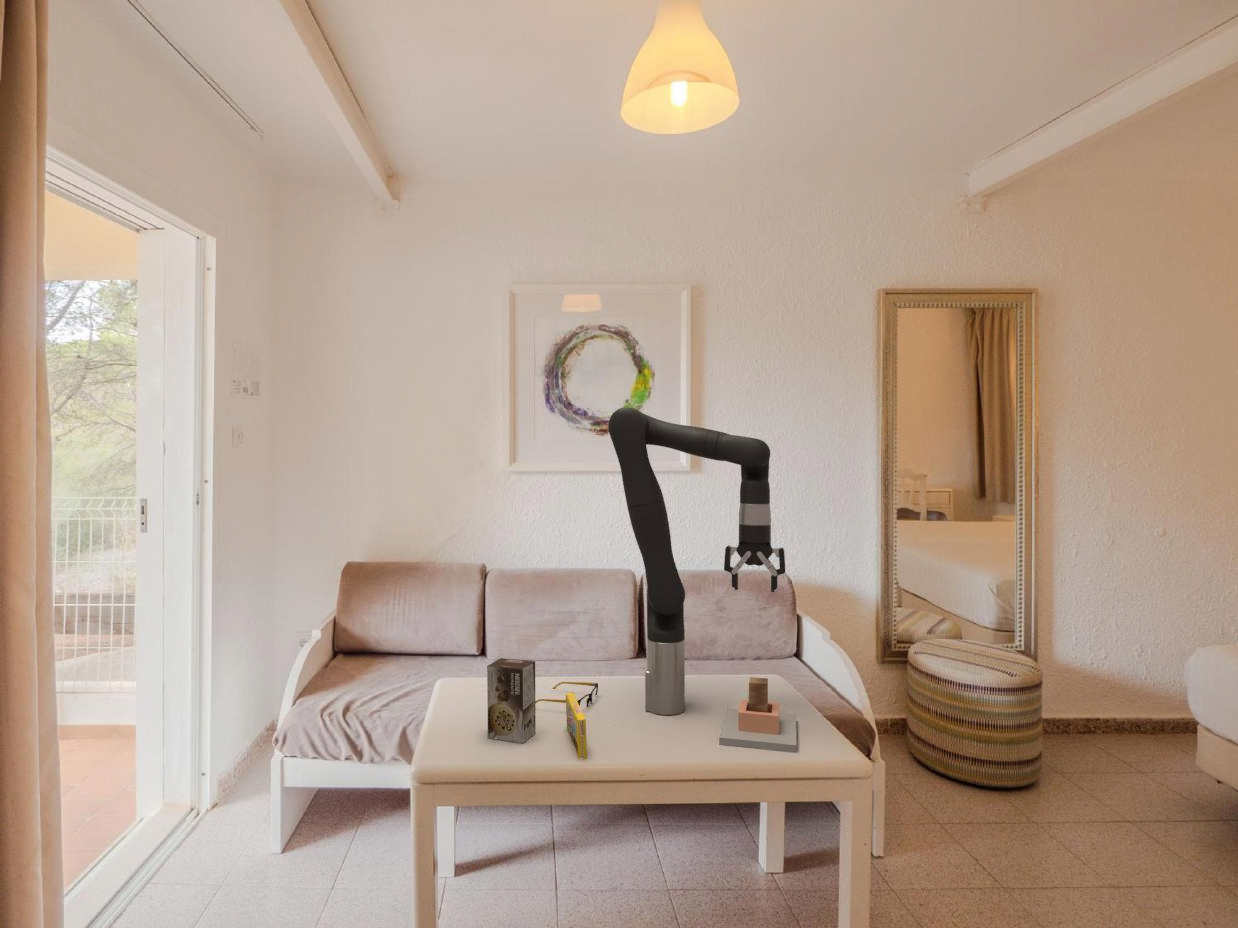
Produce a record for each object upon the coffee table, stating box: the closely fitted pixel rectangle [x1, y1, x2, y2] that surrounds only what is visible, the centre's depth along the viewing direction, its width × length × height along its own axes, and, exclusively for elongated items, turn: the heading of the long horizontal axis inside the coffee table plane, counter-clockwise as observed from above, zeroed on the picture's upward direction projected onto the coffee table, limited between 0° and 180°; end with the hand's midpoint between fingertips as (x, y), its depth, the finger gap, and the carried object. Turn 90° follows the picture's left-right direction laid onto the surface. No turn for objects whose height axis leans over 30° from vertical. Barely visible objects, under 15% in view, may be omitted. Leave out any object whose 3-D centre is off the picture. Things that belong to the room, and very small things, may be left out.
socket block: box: [718, 699, 798, 753], centre depth 147 cm, size 16×18×6 cm
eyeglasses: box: [535, 681, 599, 707], centre depth 166 cm, size 14×14×4 cm
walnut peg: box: [748, 676, 769, 713], centre depth 147 cm, size 4×4×10 cm
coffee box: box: [486, 657, 537, 744], centre depth 145 cm, size 9×6×16 cm
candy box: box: [565, 692, 588, 760], centre depth 141 cm, size 16×2×8 cm, turn 13°
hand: (754, 590), depth 156 cm, fingers open, 8 cm apart
